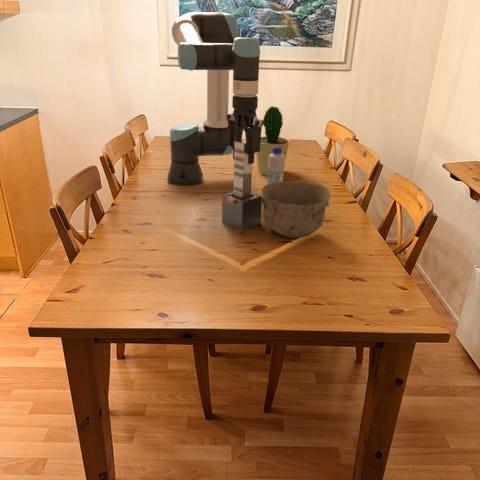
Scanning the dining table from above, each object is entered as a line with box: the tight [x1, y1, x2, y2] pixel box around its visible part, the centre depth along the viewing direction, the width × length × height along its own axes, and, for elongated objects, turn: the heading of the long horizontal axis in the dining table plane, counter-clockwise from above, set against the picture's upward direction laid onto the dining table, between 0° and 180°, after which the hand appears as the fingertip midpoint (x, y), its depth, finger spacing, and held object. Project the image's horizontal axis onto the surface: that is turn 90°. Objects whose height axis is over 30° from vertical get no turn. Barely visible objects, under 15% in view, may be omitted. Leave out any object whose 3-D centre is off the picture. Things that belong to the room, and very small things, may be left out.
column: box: [233, 138, 253, 200], centre depth 143 cm, size 4×5×22 cm
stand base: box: [221, 191, 263, 232], centre depth 149 cm, size 14×14×11 cm
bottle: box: [266, 147, 286, 185], centre depth 173 cm, size 7×7×20 cm
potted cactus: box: [255, 105, 291, 177], centre depth 200 cm, size 15×15×30 cm
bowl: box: [261, 180, 332, 239], centre depth 143 cm, size 22×22×15 cm
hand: (242, 171), depth 143 cm, fingers closed on column, 4 cm apart
